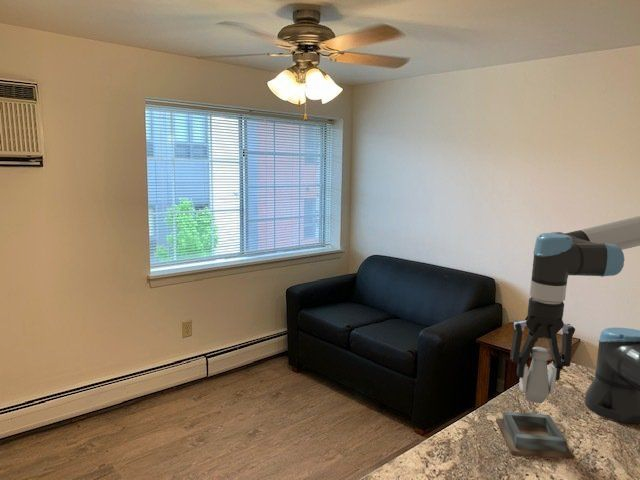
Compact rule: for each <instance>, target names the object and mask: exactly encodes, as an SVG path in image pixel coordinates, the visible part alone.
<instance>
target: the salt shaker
mask: <svg viewBox="0 0 640 480" xmlns="http://www.w3.org/2000/svg"><path fill="white" fill-rule="evenodd" d="M530 358H532V359H531V362H530V366H529V367H528V375H527V384H526V392H524V395H525V399H526V400H528V401H530V402H532V403H535V404H536V403H538V404H542V403H543V402H545V401H546V399H547V397H549V395H550V393H549V381H548V371H549V368H548V361H549V360H550V358H551V351H549V349H547V348H544V347H542V346H534V347H533V349H532V351H531V353H530Z"/></svg>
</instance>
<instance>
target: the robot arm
mask: <svg viewBox="0 0 640 480" xmlns="http://www.w3.org/2000/svg"><path fill="white" fill-rule="evenodd" d="M636 247H640V215H637V216H634V217H629V218H626V219H621V220H617V221H613V222H612V221H611V222H609V223H605V224H601V225H596V226H593V227H587V228H584V229H578V230H574V231H570V232H566V233H564V232H561V231H552V232H546V233H545V232H543V233H540V234H538V235H537V236H536V239H535V244H534V247H533V248H534V249H533V261H532V271H531V280H530V288H529V297H530V298H529V299H528V305H527V316H526V317H525V318H524V320H520V321H518V320H513V322H512V325H513V337H512V341H511V348H510V353H509V355H510V356H509V358H510V360H511V361H512V362H513V363H514V364H517V367H516V375H517V377H518V378H519V383H518V385H519V386H518V387H519V389H520V390H521V392H522V393H525V392H526V384H527V375H528V371H529V366H528V364H527V362H528V360H529V358H530V357H531V355H530V353H531V351H532V349H533V347H535V345H536V343H537V342H538V340H539V339H543V338H545V339H547V341H548V346H549V350H550V351H549V352H550V357H551V359H552V363H549V365H548V381H549V395H554V394H555V387H556V381H559V380H560V378H561V377H560V376H561V371H563V369H564V367H566V368H568V367H570V366H571V359H572V347H573V346H572V343H573V342H572V341H573V335H574V333H575V332H576V328H575V327H574V326H573V325H572V324H571V323H564V320H563V316H564V309H565V303H564V302H565V300H566V294H567V286H568V285H567V284H568V279H569V276H584V277H586V276H587V277H588V276H590V277H611V276H616V275H618V274H620V273H621V272H622V270H623V268H624V265H625V254H624V252H623V250H627V249H631V248H636ZM525 327H527V329H528V330H529V331H528V333H527V335H526V338H525V341H524V343H523V346H522V345H521V344H522V339H523V332H524V331H525ZM560 330H561V331H562V337H561V354H560V350H559V346H558V336H557V334H558V332H560ZM598 339H599V340H598V349H597V359H596V365H595V373H594V377H593V380H592V381H591V383H590V385H589V387H588V388H587V390H586V392H585V393H584V403H585V405H586V407H587V408H588V409H589V410H591V411H592V412H594V413H595V414H597V415H599V416H601V417H604V419H605V418H606V419H609V420H612V421H615V422H620V423H624V424H638V423H637V422H640V329H635V328H627V327H626V328H625V327H607V328H604V329H603V330H601V331H600V336H599V338H598ZM521 346H522V348H521Z"/></svg>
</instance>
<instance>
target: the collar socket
mask: <svg viewBox="0 0 640 480" xmlns="http://www.w3.org/2000/svg"><path fill="white" fill-rule="evenodd" d="M495 422H496V424H497V426H498V429H499V432H500V433H501V435H502V438H503V439H504V442H505V444H506V446H507V448H508V450H509V453H510V454H511V455H519V456H520V455H521V456H529V457H530V456H531V457H545V458H556V459H567V460H568V459H570V460H574V459H575V458H574V457H575V455H574V453H572V451H571V449H570V448H569V446H568V440H567V439H566V437H565V436H564V434H563V432H561V430H560V428H559V427H558V425H557V424H556V423H555V421H554V420H553V418H552V416H551V415H550V414H546V413H545V414H544V413H543V414H541V413H532V412H531V413H527V412H516V411H514V412H513V411H503V413H502V418H501V417H500V418H497V417H496V418H495Z"/></svg>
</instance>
